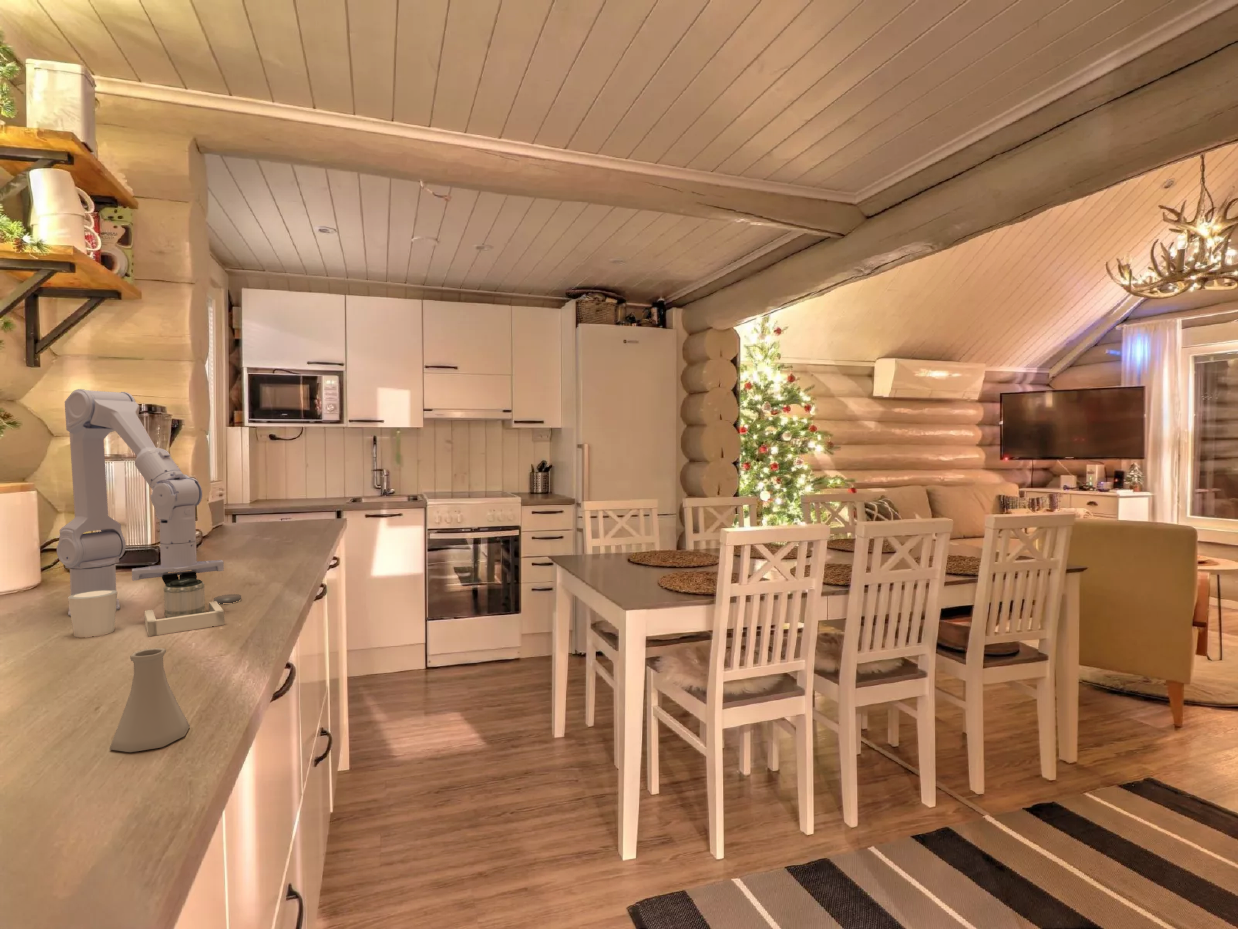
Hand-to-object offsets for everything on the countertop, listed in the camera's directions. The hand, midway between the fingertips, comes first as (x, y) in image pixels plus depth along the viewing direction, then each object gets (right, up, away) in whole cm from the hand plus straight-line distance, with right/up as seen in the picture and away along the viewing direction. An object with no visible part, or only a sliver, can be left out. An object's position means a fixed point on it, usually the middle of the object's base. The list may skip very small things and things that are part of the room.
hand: (180, 612), depth 127 cm
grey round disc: (+2, -1, +13) cm, 13 cm away
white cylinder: (-9, -2, -10) cm, 13 cm away
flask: (+31, -3, -52) cm, 61 cm away
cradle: (+4, -1, -4) cm, 6 cm away
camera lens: (+4, -1, -4) cm, 6 cm away
